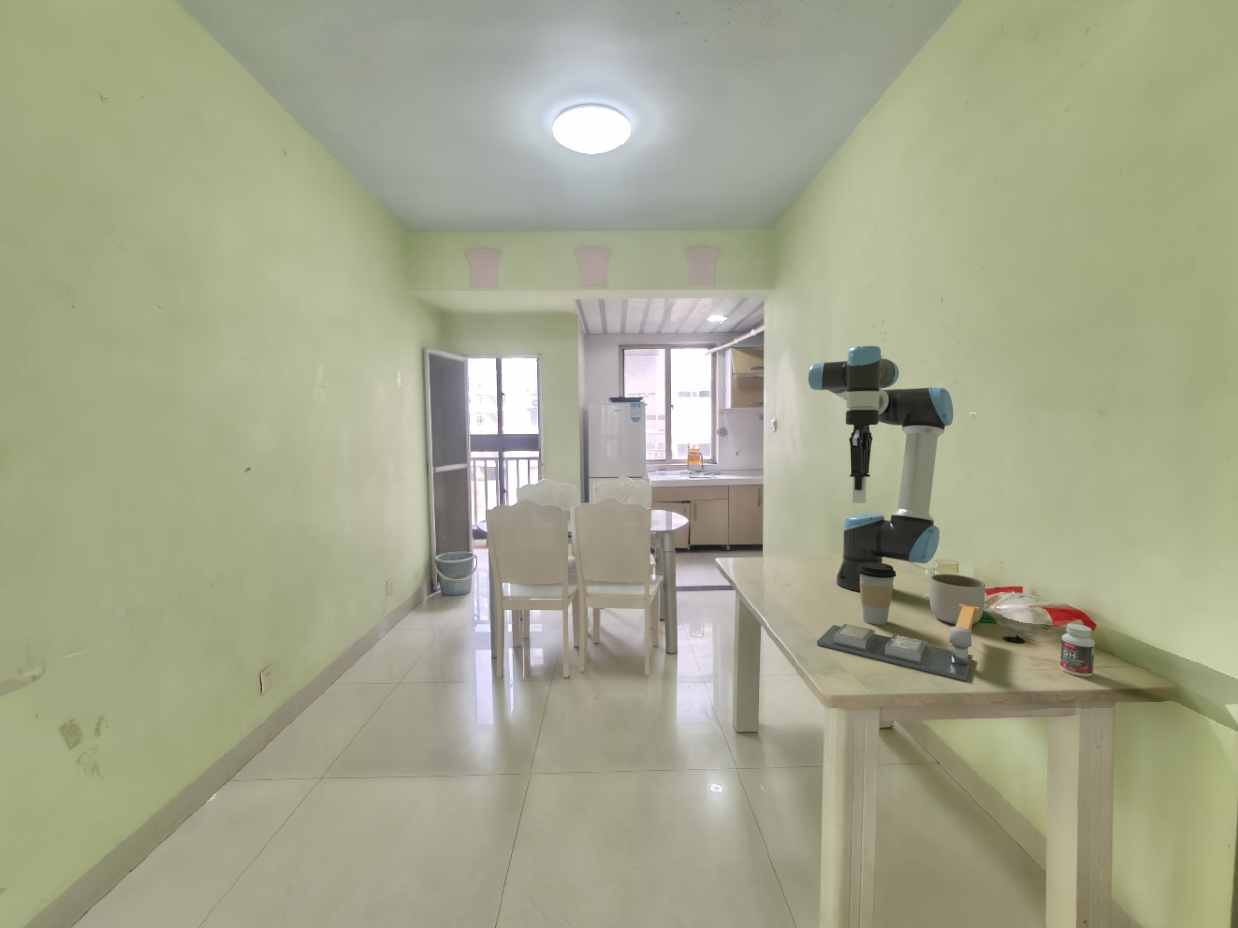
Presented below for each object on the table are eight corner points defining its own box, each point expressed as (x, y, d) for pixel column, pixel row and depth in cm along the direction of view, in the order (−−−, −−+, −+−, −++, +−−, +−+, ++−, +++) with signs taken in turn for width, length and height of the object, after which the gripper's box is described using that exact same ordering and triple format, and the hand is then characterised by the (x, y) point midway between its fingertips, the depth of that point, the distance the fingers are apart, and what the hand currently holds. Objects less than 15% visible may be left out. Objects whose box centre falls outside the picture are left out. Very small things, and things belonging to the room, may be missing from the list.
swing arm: (970, 648, 115) (971, 634, 115) (948, 644, 118) (949, 630, 117) (978, 618, 133) (978, 606, 133) (958, 615, 135) (959, 603, 135)
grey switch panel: (833, 628, 140) (833, 610, 139) (972, 659, 121) (973, 639, 121) (817, 644, 129) (817, 625, 129) (966, 681, 111) (967, 658, 111)
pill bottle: (1059, 672, 115) (1062, 627, 115) (1060, 663, 119) (1062, 620, 119) (1093, 680, 112) (1096, 633, 111) (1092, 671, 116) (1095, 626, 115)
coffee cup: (899, 628, 140) (901, 571, 139) (859, 625, 142) (861, 569, 141) (888, 616, 149) (890, 562, 148) (851, 613, 151) (853, 560, 150)
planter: (954, 630, 139) (956, 588, 138) (918, 613, 151) (919, 575, 150) (995, 627, 141) (997, 585, 140) (956, 610, 153) (958, 572, 153)
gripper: (853, 410, 144) (850, 498, 146) (839, 408, 134) (836, 504, 136) (884, 409, 140) (880, 501, 141) (872, 408, 129) (868, 507, 131)
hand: (858, 502), depth 138 cm, fingers closed
